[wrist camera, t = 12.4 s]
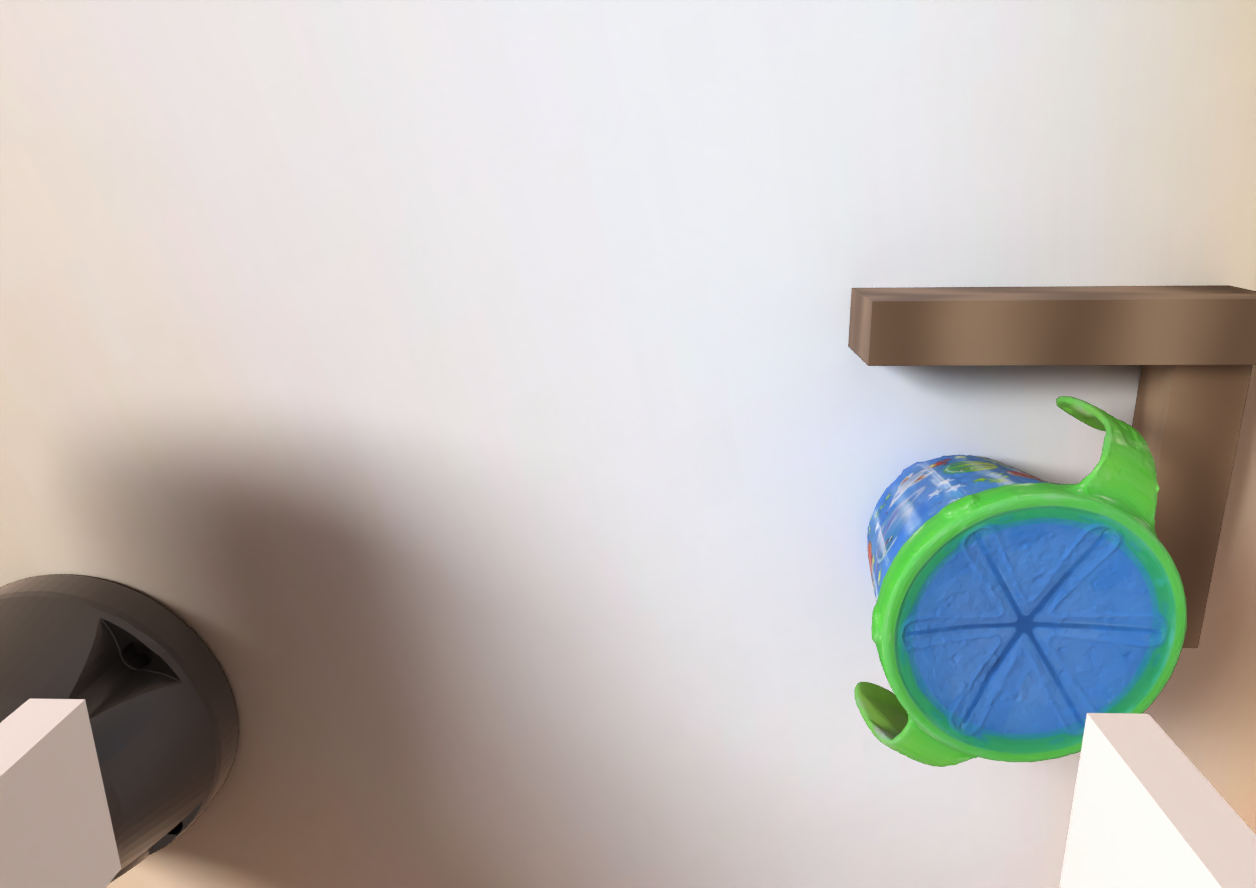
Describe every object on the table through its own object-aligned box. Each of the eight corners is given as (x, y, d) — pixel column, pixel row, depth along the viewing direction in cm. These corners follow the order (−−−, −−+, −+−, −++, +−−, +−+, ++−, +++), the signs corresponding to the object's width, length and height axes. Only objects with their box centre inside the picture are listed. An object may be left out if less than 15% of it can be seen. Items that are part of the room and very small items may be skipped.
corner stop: (831, 617, 43) (848, 661, 39) (851, 287, 38) (872, 301, 34) (1167, 620, 42) (1217, 665, 38) (1228, 285, 37) (1291, 298, 34)
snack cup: (971, 321, 38) (1075, 372, 29) (1156, 456, 40) (1315, 549, 30) (751, 592, 42) (776, 717, 33) (926, 706, 44) (1000, 859, 34)
